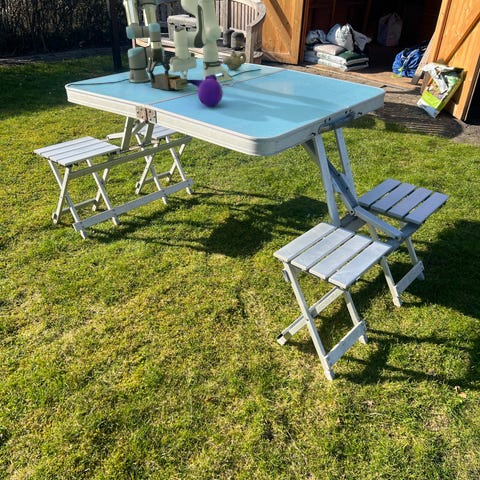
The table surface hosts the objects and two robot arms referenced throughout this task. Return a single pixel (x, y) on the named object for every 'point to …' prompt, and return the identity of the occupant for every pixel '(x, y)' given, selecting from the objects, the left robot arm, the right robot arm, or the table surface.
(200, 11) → the right robot arm
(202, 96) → the toy
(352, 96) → the table surface
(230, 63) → the teapot
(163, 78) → the brown wooden slab
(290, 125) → the table surface
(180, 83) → the drawer
